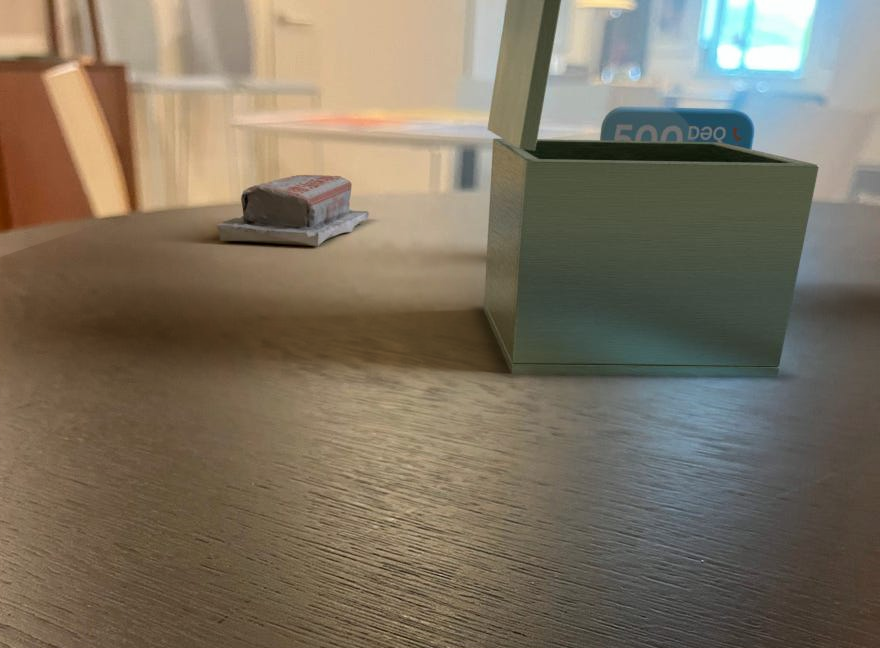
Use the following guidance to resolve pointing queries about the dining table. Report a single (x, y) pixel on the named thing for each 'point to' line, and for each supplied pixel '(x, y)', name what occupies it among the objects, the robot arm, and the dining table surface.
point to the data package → (678, 125)
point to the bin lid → (523, 70)
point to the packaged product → (294, 212)
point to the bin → (643, 256)
